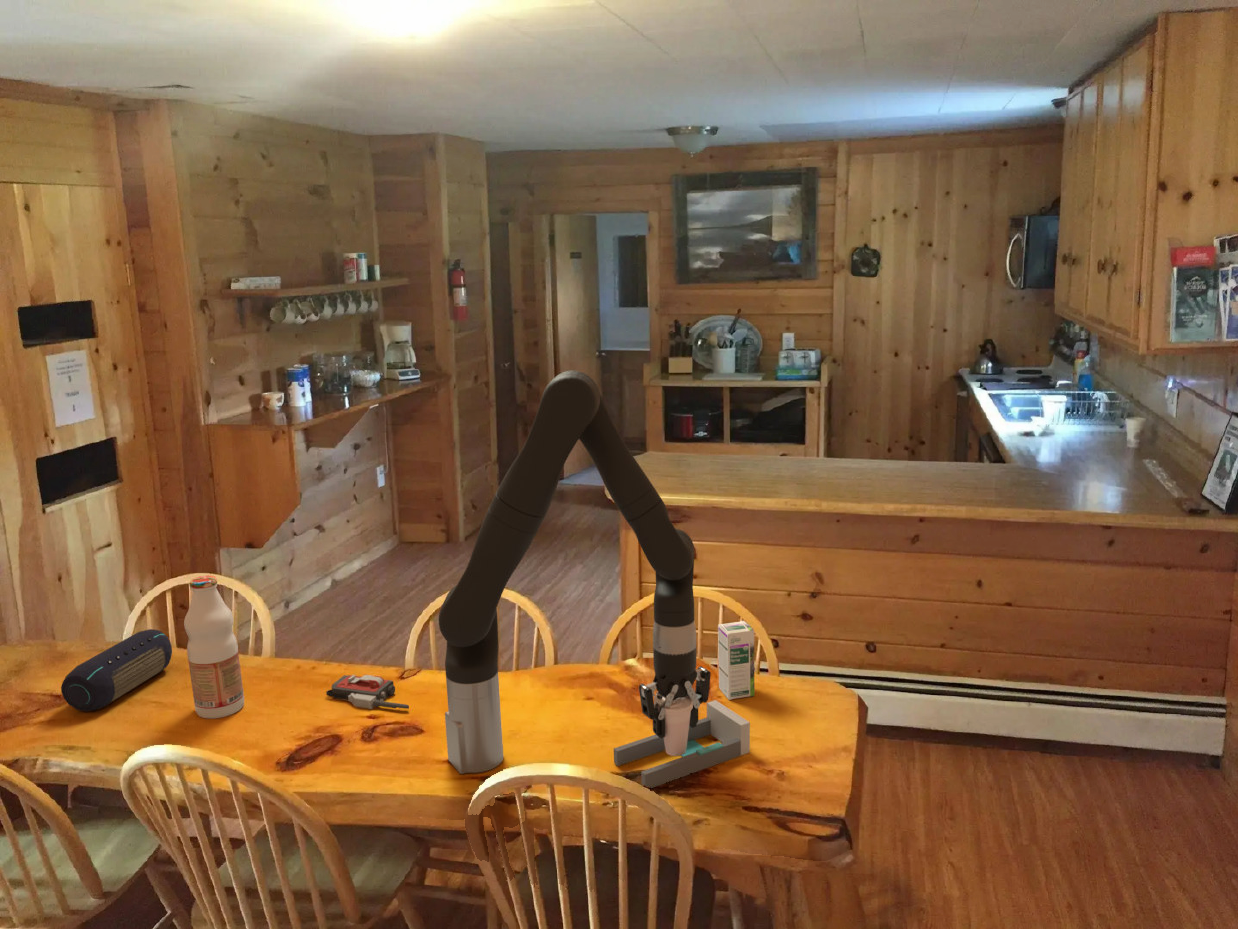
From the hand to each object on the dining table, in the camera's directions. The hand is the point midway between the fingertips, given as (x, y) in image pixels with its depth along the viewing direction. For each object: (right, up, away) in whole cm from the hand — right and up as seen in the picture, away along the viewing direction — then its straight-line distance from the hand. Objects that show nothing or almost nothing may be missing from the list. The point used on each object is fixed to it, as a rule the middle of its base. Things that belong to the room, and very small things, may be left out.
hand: (676, 730), depth 179 cm
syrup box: (+14, +1, +27) cm, 30 cm away
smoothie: (0, -4, +1) cm, 4 cm away
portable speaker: (-116, -1, +36) cm, 121 cm away
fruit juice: (-91, -3, +26) cm, 95 cm away
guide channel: (+1, -6, +2) cm, 6 cm away
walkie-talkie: (-61, -1, +28) cm, 67 cm away
